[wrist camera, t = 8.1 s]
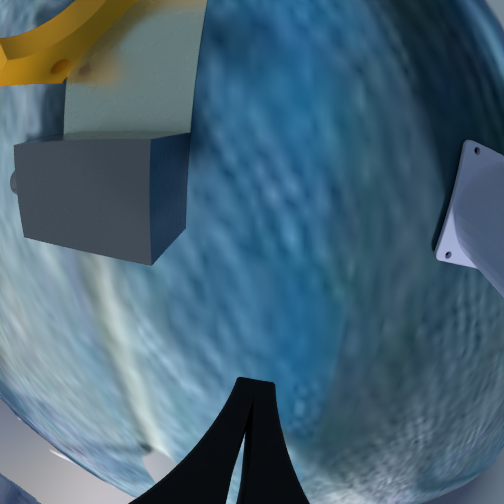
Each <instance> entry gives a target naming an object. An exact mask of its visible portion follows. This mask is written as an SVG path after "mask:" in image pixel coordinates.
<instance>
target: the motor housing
mask: <svg viewBox="0 0 504 504" xmlns="http://www.w3.org/2000/svg"><path fill="white" fill-rule="evenodd" d="M207 1H208V0H138V1H137V2H136V3H135V4H134V5H133V6H132V7H130V8H129V9H128V10H127V11H126V12H125V13H124V14H123V15H122V16H121V17H120V18H119V19H118V20H117V21H116V22H115V23H114V24H113V25H112V26H111V27H110V28H109V29H108V30H107V31H106V32H105V33H104V34H103V35H102V36H101V37H100V38H99V39H98V40H97V41H96V42H95V43H94V45H93V46H92V47H91V48H90V49H89V50H88V51H87V52H86V54H85V55H84V56H83V57H82V58H81V60H80V61H79V62H78V63H77V64H76V66H75V67H74V68H73V69H72V71H71V72H70V73H69V75H68V76H67V84H66V96H65V112H64V134H60V135H55V136H50V137H45V138H41V139H36V140H32V141H28V142H24V143H20V144H17V145H14V161H15V171H14V172H13V174H12V176H11V179H10V186H11V189H12V191H13V192H14V193H15V194H17V195H18V203H19V210H20V216H21V222H22V228H23V233H24V237H26V238H30V239H34V240H38V241H42V242H46V243H50V244H55V245H59V246H63V247H67V248H72V249H76V250H80V251H85V252H89V253H94V254H98V255H103V256H108V257H112V258H117V259H122V260H126V261H131V262H136V263H141V264H146V265H150V266H152V265H153V264H154V262H155V261H156V260H157V259H158V258H159V257H160V256H161V255H162V254H163V252H164V251H165V250H166V249H167V248H168V247H169V246H170V245H171V244H172V243H173V241H174V240H175V239H176V238H177V237H178V236H179V235H180V234H181V233H182V232H183V231H184V230H185V229H186V202H187V180H188V163H189V148H190V134H191V123H192V112H193V101H194V92H195V83H196V75H197V67H198V59H199V51H200V44H201V38H202V31H203V25H204V19H205V13H206V7H207Z"/></svg>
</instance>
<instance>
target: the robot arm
mask: <svg viewBox="0 0 504 504" xmlns="http://www.w3.org/2000/svg"><path fill="white" fill-rule="evenodd" d="M475 148H477V153H476V154H475V152H474V149H475ZM447 252H449V254H448V255H447V256H445V254H446V253H447ZM434 254H435V257H436V258H437V259H438V260H440V261H445V262H450V263H455V264H459V265H464V266H469V267H474V268H478V269H479V270H480V271H481V272H482V274H483V275H484V276H485V277H486V278H487V279H488V280H489V281H490V282H491V284H492V285H493V286H494V287H495V288H496V289H497V290H498V292H499V293H500V294H501V295H502V296H503V298H504V156H503V155H501V154H499V153H497V152H495V151H493V150H491V149H489V148H487V147H485V146H483V145H481V144H479V143H477V142H475V141H472V140H466V141H465V142H464V144H463V148H462V153H461V158H460V163H459V168H458V172H457V176H456V181H455V185H454V189H453V193H452V197H451V200H450V204H449V207H448V211H447V214H446V218H445V221H444V224H443V227H442V230H441V234H440V237H439V239H438V242H437V245H436V248H435V252H434ZM245 431H246V432H245ZM244 434H245V442H244V453H243V464H242V474H241V482H240V489H239V493H238V498H237V503H236V504H310V503H309V501H308V499H307V498H306V496H305V494H304V492H303V489H302V487H301V485H300V483H299V481H298V478H297V476H296V473H295V471H294V468H293V466H292V463H291V460H290V457H289V454H288V451H287V448H286V444H285V441H284V437H283V433H282V429H281V424H280V420H279V415H278V409H277V402H276V391H275V384H274V383H273V382H267V381H261V380H255V379H250V378H244V377H238V378H237V380H236V383H235V385H234V388H233V390H232V392H231V394H230V396H229V398H228V400H227V402H226V404H225V405H224V407H223V409H222V410H221V412H220V413H219V415H218V416H217V418H216V420H215V421H214V423H213V424H212V425H211V427H210V428H209V429H208V431H207V432H206V433H205V435H204V436H203V437H202V439H201V440H200V441H199V442H198V444H197V445H196V446H195V447H194V448H193V449H192V450H191V452H190V453H189V454H188V455H187V456H186V457H185V458H184V459H183V460H182V461H181V462H180V463H179V464H178V465H177V466H176V467H175V468H174V469H173V470H172V471H171V472H170V473H169V474H167V475H166V476H165V477H164V478H163V479H162V480H161V481H159V482H158V483H157V484H155V485H154V486H153V487H152V488H150V489H149V490H148V491H146V492H145V493H144V494H142V495H141V496H139V497H138V498H136V499H135V500H133V501H132V502H130V503H129V504H226V500H227V496H228V491H229V486H230V482H231V477H232V472H233V469H234V466H235V463H236V460H237V457H238V454H239V451H240V447H241V444H242V441H243V438H244ZM0 504H41V503H39V502H38V501H37V500H36V499H35V498H34V497H33V496H31V495H30V494H29V493H27V492H26V491H25V490H23V489H22V488H21V487H19V486H18V485H17V484H15V483H14V482H12V481H10V480H9V479H7V478H6V477H5V476H3V475H2V474H1V473H0Z"/></svg>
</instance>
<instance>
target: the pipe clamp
mask: <svg viewBox="0 0 504 504" xmlns="http://www.w3.org/2000/svg"><path fill="white" fill-rule="evenodd" d="M137 1H138V0H75V1H74V2H73V3H72V4H71V5H69V6H68V7H67V8H66V9H65V10H63V11H62V12H61V13H59V14H58V15H57V16H55V17H54V18H52V19H51V20H49V21H48V22H46V23H44V24H43V25H41V26H39V27H37V28H35V29H33V30H31V31H28V32H26V33H23V34H20V35H17V36H13V37H8V38H0V86H10V85H25V84H62V83H63V81H64V80H65V79H66V77H67V76H68V75H69V73H70V72H71V71H72V69H73V68H74V67H75V66H76V64H77V63H78V62H79V61H80V60H81V58H82V57H83V56H84V55H85V54H86V52H87V51H88V50H89V49H90V48H91V47H92V46H93V45H94V43H95V42H96V41H97V40H98V39H99V38H100V37H101V36H102V35H103V34H104V33H105V32H106V31H107V30H108V29H109V28H110V27H111V26H112V25H113V24H114V23H115V22H116V21H117V20H118V19H119V18H120V17H121V16H122V15H123V14H124V13H125V12H126V11H127V10H128V9H129V8H130V7H132V6H133V5H134V4H135V3H136V2H137Z"/></svg>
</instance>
